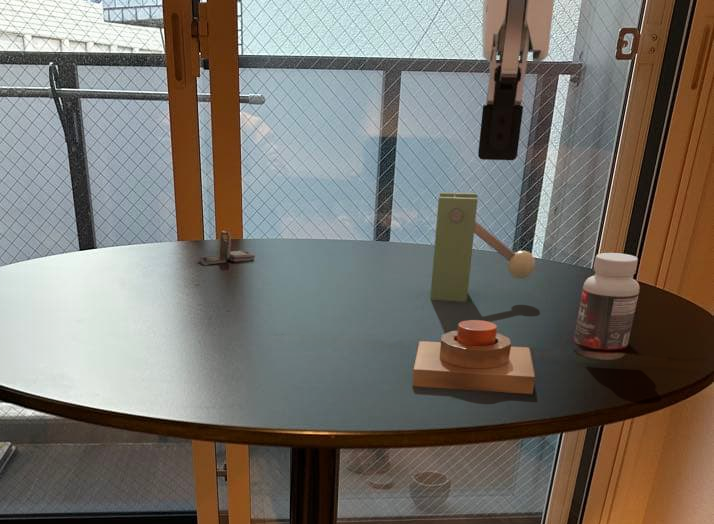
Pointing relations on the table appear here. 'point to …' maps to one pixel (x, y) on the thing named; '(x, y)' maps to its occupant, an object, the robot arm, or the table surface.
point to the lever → (508, 254)
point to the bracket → (453, 246)
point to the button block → (474, 366)
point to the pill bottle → (607, 306)
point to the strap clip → (227, 253)
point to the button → (476, 333)
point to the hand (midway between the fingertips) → (496, 158)
